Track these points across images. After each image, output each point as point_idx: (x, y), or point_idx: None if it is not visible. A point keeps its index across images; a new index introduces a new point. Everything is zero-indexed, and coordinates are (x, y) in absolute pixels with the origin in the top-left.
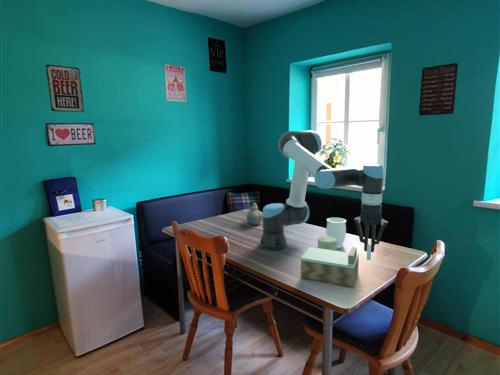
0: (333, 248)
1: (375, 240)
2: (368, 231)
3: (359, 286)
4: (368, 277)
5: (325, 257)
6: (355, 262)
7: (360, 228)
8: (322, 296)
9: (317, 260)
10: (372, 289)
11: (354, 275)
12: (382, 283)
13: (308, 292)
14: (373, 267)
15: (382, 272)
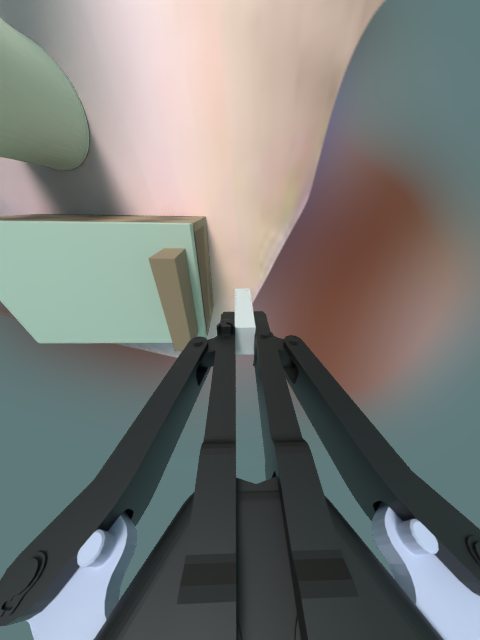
0: (8, 115)
1: (279, 353)
2: (235, 399)
3: (224, 292)
4: (239, 227)
5: (96, 315)
6: (201, 317)
7: (171, 446)
8: (171, 351)
9: (94, 342)
10: (253, 295)
11: (209, 312)
12: (277, 253)
13: (143, 348)
14: (250, 95)
15: (285, 151)
